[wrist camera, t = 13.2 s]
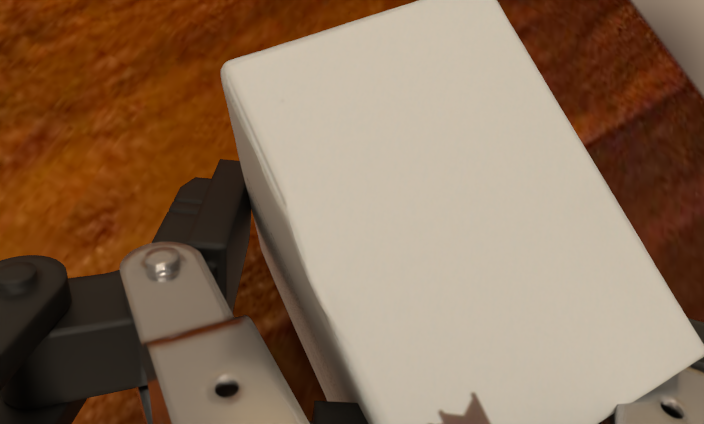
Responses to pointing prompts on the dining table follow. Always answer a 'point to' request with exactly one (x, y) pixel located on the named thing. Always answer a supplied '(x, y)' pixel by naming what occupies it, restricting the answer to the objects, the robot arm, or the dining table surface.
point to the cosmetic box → (446, 226)
